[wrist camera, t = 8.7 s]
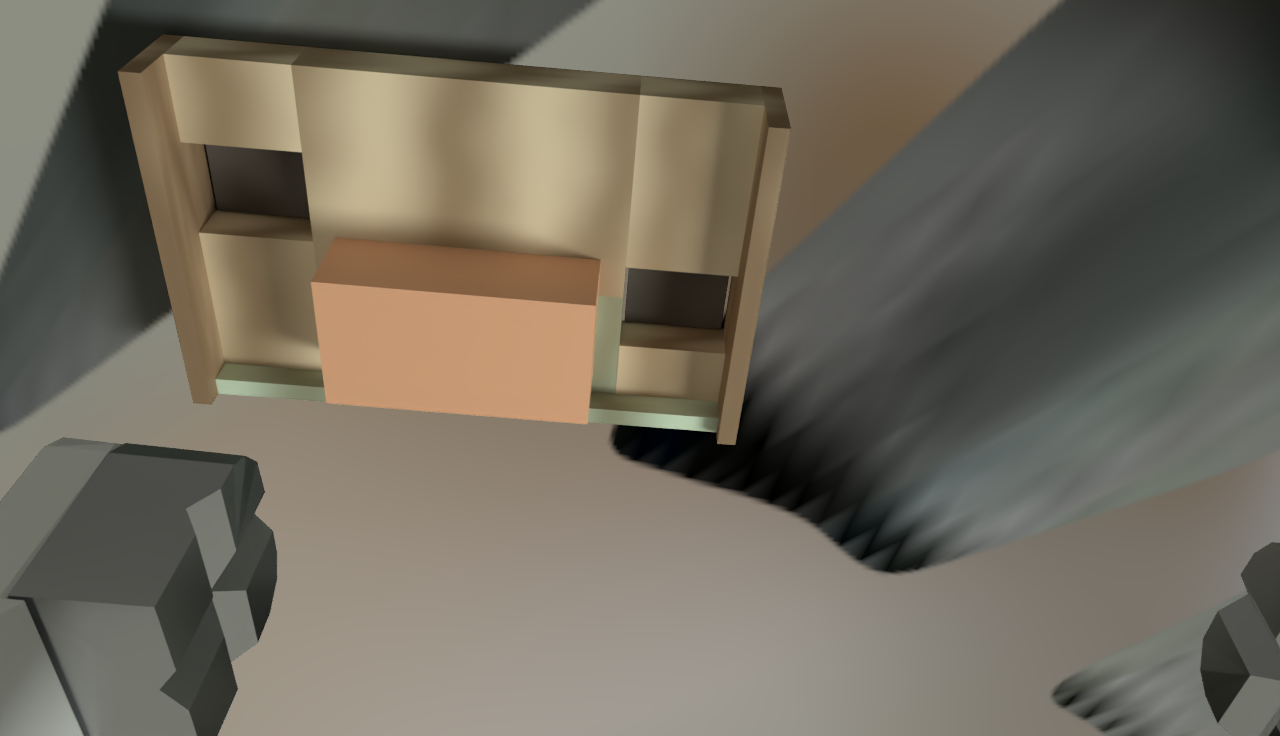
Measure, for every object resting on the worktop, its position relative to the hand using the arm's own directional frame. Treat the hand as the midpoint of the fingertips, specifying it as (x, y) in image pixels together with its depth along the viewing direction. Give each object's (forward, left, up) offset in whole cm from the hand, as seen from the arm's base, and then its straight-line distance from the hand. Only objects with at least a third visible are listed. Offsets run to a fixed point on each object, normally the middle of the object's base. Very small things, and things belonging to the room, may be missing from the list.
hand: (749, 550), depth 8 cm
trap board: (+8, +16, -33) cm, 37 cm away
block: (+8, +18, -31) cm, 37 cm away
